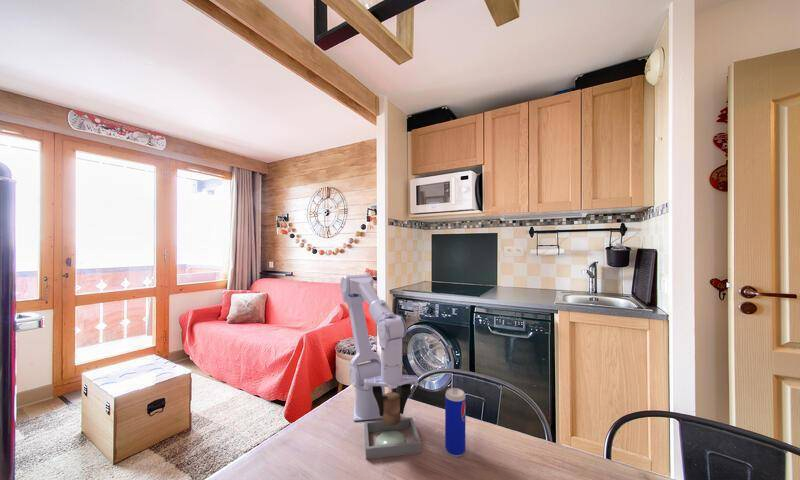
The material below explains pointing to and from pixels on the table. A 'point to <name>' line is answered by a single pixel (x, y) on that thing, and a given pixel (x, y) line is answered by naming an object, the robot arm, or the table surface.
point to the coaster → (390, 438)
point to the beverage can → (455, 421)
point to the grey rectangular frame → (391, 448)
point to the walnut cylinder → (391, 408)
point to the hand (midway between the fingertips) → (391, 412)
